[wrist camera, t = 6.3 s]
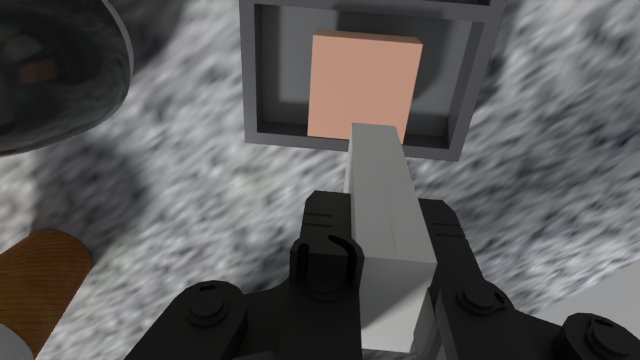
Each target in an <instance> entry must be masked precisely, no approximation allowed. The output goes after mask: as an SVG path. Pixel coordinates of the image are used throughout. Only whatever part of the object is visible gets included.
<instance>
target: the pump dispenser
mask: <svg viewBox="0 0 640 360" xmlns="http://www.w3.org/2000/svg"><path fill="white" fill-rule="evenodd" d="M133 67H134V56H133V48H132V43H131V40H130V37H129V34H128V31H127V29H126V27H125V25H124V23H123V21H122V19H121V17H120V16H119V14H118V13H117V11H116V10H115V9H114V7H113V6H112V5H111V3H110V2H109V1H108V0H0V158H2V157H7V156H12V155H17V154H21V153H25V152H29V151H33V150H37V149H40V148H43V147H47V146H50V145H53V144H56V143H59V142H61V141H64V140H66V139H69V138H72V137H74V136H77V135H79V134H81V133H84V132H86V131H88V130H90V129H92V128H94V127H96V126H98V125H100V124H101V123H103V122H104V121H106V120H107V119H109V118H110V117H111V116H113V115H114V114H115V113H116V112H117V111H118V109H119V108H120V107H121V105H122V104H123V102H124V100H125V98H126V96H127V93H128V90H129V85H130V82H131V79H132V74H133Z"/></svg>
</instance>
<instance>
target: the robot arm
mask: <svg viewBox="0 0 640 360" xmlns="http://www.w3.org/2000/svg"><path fill="white" fill-rule="evenodd" d="M460 226H461V225H460V223H459V220H458V218H457V216H456V214H455V212H454V211H453V210H452V209H451V208H450V207H449V206H448V205H447V204H446V203H445V202H444V201H443V200H432V199H421V198H417V195H416V191H415V188H414V185H413V182H412V178H411V175H410V172H409V169H408V165H407V162H406V159H405V155H404V152H403V149H402V146H401V142H400V139H399V136H398V133H397V129H396V126H388V125H376V124H364V123H351V132H350V140H349V148H348V157H347V165H346V174H345V182H344V193H338V192H327V191H316V190H315V191H314V192H313V193H312V194H311V195H310V196H309V197H308V198H307V200H306V202H305V208H304V215H303V220H302V226H301V232H300V238H299V239H297V240H296V241H295V242H294V244H293V246H292V248H291V250H290V272H289V278H288V279H287V280H285V281H284V282H283V283H282V284H280V285H278V286H276V287H274V288H272V289H269V290H265V291H262V292H256V293H250V294H245V295H244V294H243V293H242V292H241V290H240V289H239V288H238V287H237V286H235V285H233V284H231V283H229V282H225V281H217V280H211V281H205V282H199V283H197V284H195V285H193V286H191V287H188V288H186V289H185V290H184V291H182V292H181V293H180V294H179V295H178V296H177V297H176V298H174V300H173V301H172V302H171V303H170V304H169V306H168V307H167V308H166V309H165V310H164V312H163V313H162V314H161V315H160V316H159V318H158V319H157V320H156V321H155V322H154V324H153V325H152V326H151V327H150V328H149V330H148V331H147V332H146V333H145V334H144V336H143V337H142V338H141V339H140V340H139V342H138V343H137V344H136V345H135V346H134V348H133V349H132V350H131V351H130V352H129V354H128V355H127V356H126V357H125V358H124V360H362V348H365V349H375V350H385V351H396V352H406V353H409V351H410V348H411V345H412V342H413V339H414V341H415V346H416V352H417V360H640V340H639V339H638V338H637V337H635V336H634V335H633V334H632V333H630V332H629V331H627V329H625V328H624V327H622V326H620V325H618V324H617V323H615V322H613V321H611V320H609V319H607V318H604V317H601V316H598V315H594V314H592V313H576V314H573V315H570V316H568V317H567V319H566V321H565V322H564V324H563V325H562V326H559V325H556V324H553V323H550V322H548V321H544V320H542V319H539V318H536V317H533V316H530V315H527V314H525V313H522V312H520V311H518V310H516V309H515V308H514V306H513V304H512V302H511V301H510V300H509V298H508V297H507V296H506V294H505V293H504V292H503V291H501V290H500V289H499V288H498V287H496V286H495V285H494V284H492V283H490V282H488V281H486V280H484V278H483V275H482V273H481V271H480V268H479V266H478V264H477V262H476V259H475V257H474V255H473V252H472V250H471V248H470V246H469V243H468V241H467V239H465V234H464V232H463V230H462V228H460Z"/></svg>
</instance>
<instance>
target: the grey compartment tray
mask: <svg viewBox="0 0 640 360" xmlns="http://www.w3.org/2000/svg"><path fill="white" fill-rule="evenodd" d="M506 2H507V0H239V11H240V35H241V58H242V82H243V105H244V129H245V143H254V144H266V145H277V146H288V147H300V148H311V149H322V150H333V151H345V152H348V148H349V139H338V138H326V137H315V136H308V118H309V99H310V81H311V63H312V45H313V34H314V32H315V30H316V29H323V30H335V31H347V32H359V33H371V34H383V35H395V36H407V37H417V38H418V39H419V41H420V42H421V43H422V44H423V47H422V52H421V57H420V62H419V66H418V71H417V76H416V81H415V86H414V91H413V96H412V100H411V105H410V110H409V115H408V120H407V125H406V130H405V135H404V139H403V144H401V146H402V149H403V152H404V155H405V157H412V158H424V159H435V160H446V161H459V158H460V155H461V151H462V148H463V145H464V141H465V138H466V135H467V132H468V128H469V125H470V122H471V118H472V115H473V112H474V108H475V105H476V102H477V98H478V95H479V92H480V88H481V85H482V82H483V79H484V75H485V72H486V69H487V65H488V62H489V59H490V55H491V52H492V49H493V45H494V42H495V39H496V36H497V32H498V29H499V26H500V22H501V19H502V16H503V12H504V9H505V6H506Z"/></svg>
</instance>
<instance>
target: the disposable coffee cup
mask: <svg viewBox="0 0 640 360" xmlns="http://www.w3.org/2000/svg"><path fill="white" fill-rule="evenodd" d="M91 268H92V259H91V256H90V254H89V252H88V251H87V249H86V248H85V247H84V246H83V245H82V244H81V243H80V242H78V241H77V240H76V239H74V238H72V237H71V236H69V235H67V234H64V233H61V232H58V231H55V230H39V231H36V232H34V233H32V234H30V235H29V236H28V237H26V238H25V239H23V240H22V241H20V242H19V243H17V244H16V245H14V246H12V247H11V248H9V249H8V250H6V251H5V252H3V253H2V254H0V360H35V359H36V357H37V355H38V354H39V352H40V351H41V349H42V347H43V346H44V344H45V342H46V341H47V339H48V338H49V336H50V334H51V332H53V330H54V328H55V326H56V325H57V323H58V321H59V319H61V317H62V315H63V313H64V312H65V310H66V308H67V307H68V305H69V304H70V302H71V301H72V299H73V297H74V295H75V294H76V293H77V291H78V289H79V288H80V286H81V284H82V283H83V281H84V280H85V278H86V276H87V274H88V273H89V271H90V270H91Z"/></svg>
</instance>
